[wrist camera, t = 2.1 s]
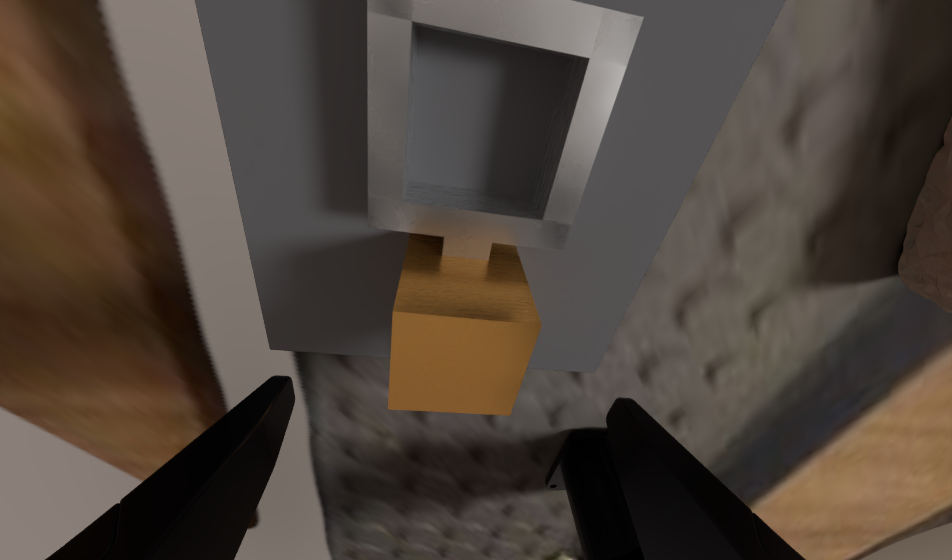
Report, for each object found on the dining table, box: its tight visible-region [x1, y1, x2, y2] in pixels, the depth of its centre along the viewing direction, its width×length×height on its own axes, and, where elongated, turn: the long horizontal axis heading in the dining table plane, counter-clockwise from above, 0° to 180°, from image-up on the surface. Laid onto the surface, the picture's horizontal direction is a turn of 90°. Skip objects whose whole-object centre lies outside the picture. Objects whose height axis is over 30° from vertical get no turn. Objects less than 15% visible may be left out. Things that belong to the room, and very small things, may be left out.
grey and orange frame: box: [367, 0, 644, 415], centre depth 11 cm, size 14×6×5 cm, turn 170°
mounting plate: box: [195, 0, 786, 373], centre depth 10 cm, size 26×16×1 cm, turn 170°
